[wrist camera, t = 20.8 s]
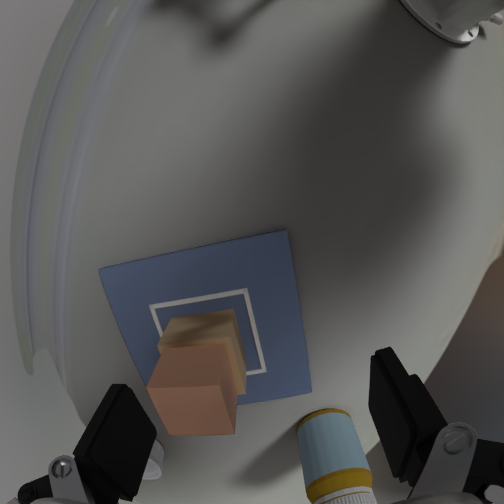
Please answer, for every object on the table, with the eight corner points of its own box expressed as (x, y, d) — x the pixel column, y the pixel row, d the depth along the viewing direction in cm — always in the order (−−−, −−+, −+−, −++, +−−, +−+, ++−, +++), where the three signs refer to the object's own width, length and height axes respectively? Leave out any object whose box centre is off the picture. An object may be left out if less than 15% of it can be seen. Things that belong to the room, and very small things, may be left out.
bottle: (308, 446, 32) (325, 537, 17) (286, 420, 30) (300, 526, 16) (356, 425, 31) (388, 515, 17) (339, 397, 30) (376, 501, 15)
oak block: (233, 308, 26) (230, 336, 21) (246, 361, 27) (245, 394, 22) (171, 317, 26) (156, 345, 21) (189, 367, 28) (179, 399, 23)
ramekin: (171, 464, 34) (166, 485, 29) (118, 452, 33) (110, 471, 29) (163, 431, 31) (156, 454, 27) (104, 417, 31) (93, 438, 27)
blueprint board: (286, 228, 25) (287, 230, 24) (311, 388, 29) (312, 393, 28) (101, 268, 26) (97, 270, 25) (159, 406, 30) (158, 411, 29)
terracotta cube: (225, 343, 21) (219, 385, 16) (237, 390, 22) (234, 433, 18) (164, 348, 21) (145, 387, 16) (181, 394, 23) (169, 435, 18)
